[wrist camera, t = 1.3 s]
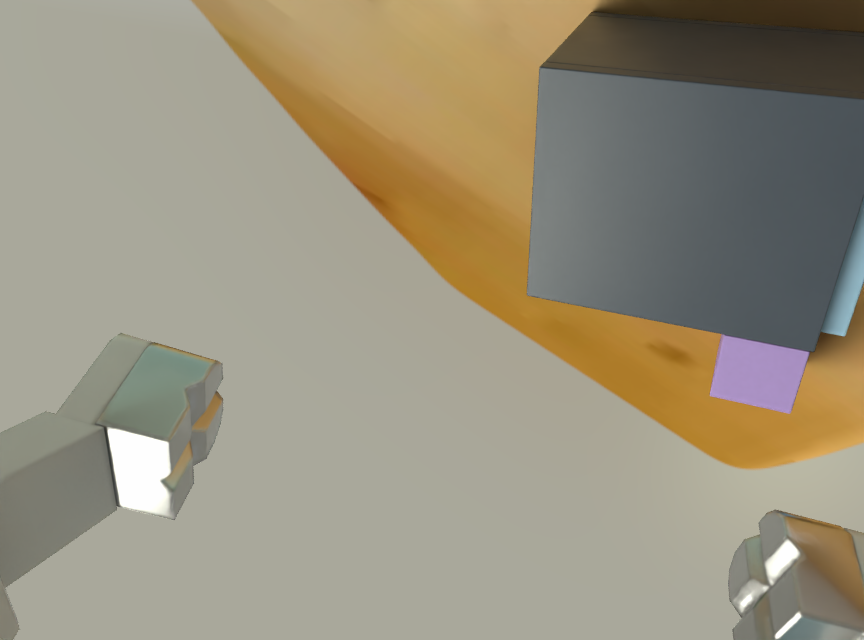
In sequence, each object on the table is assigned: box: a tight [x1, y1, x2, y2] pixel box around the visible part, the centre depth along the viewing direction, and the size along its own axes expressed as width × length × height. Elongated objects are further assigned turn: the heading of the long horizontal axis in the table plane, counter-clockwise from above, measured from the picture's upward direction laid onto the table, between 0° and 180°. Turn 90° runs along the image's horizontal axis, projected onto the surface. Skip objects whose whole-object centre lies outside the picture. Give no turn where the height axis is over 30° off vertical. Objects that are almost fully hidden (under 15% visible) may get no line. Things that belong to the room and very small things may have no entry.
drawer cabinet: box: [527, 12, 864, 352], centre depth 40 cm, size 14×12×10 cm
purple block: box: [710, 334, 810, 414], centre depth 47 cm, size 4×4×5 cm
